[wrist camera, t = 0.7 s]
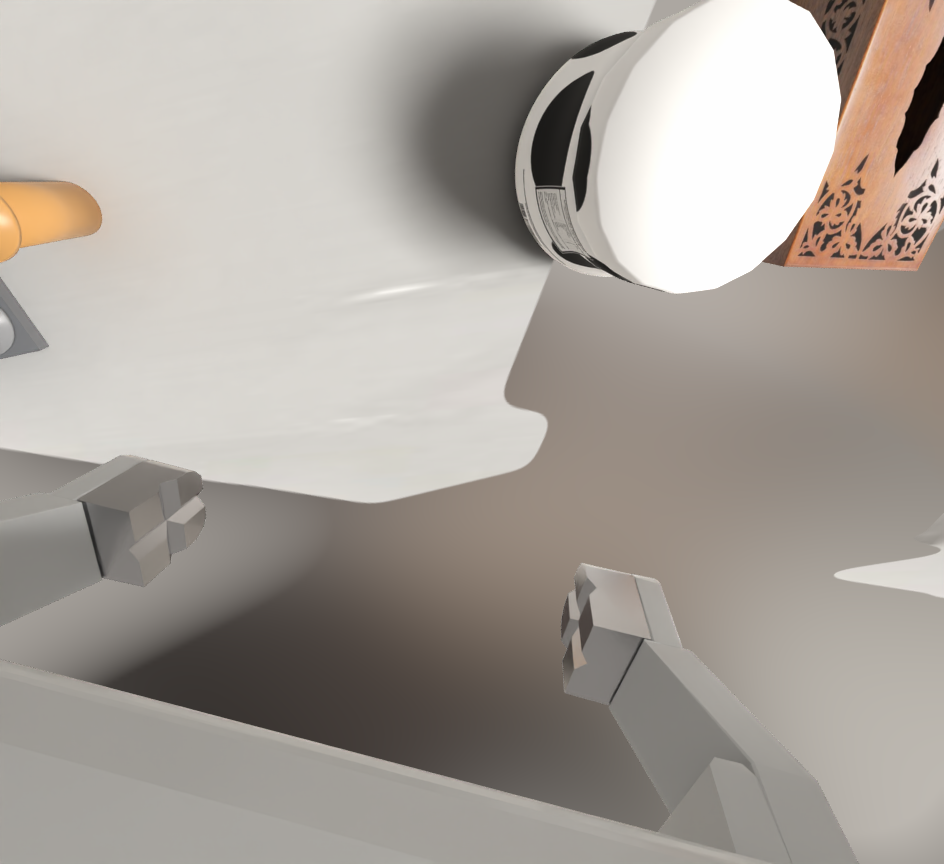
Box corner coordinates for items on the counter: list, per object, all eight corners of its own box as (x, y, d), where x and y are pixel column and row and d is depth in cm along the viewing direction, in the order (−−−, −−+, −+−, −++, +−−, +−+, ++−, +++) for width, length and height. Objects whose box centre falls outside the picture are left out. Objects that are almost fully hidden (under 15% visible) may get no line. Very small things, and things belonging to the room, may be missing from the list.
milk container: (717, 108, 40) (920, 64, 25) (623, 290, 48) (735, 343, 32) (557, 5, 35) (690, -132, 20) (477, 228, 42) (529, 256, 27)
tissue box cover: (825, 255, 50) (916, 271, 41) (712, 250, 47) (783, 266, 39) (962, -70, 37) (1134, -145, 29) (816, -99, 35) (957, -190, 26)
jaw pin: (18, 180, 35) (-118, 180, 25) (85, 166, 35) (-26, 162, 26) (61, 249, 37) (-48, 272, 28) (123, 236, 38) (35, 255, 28)
